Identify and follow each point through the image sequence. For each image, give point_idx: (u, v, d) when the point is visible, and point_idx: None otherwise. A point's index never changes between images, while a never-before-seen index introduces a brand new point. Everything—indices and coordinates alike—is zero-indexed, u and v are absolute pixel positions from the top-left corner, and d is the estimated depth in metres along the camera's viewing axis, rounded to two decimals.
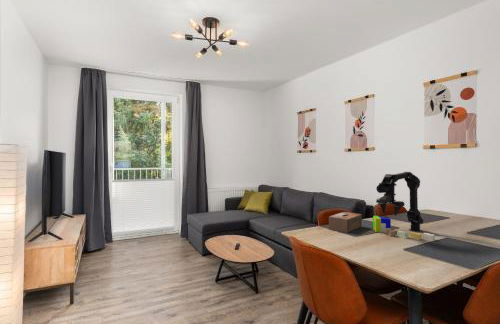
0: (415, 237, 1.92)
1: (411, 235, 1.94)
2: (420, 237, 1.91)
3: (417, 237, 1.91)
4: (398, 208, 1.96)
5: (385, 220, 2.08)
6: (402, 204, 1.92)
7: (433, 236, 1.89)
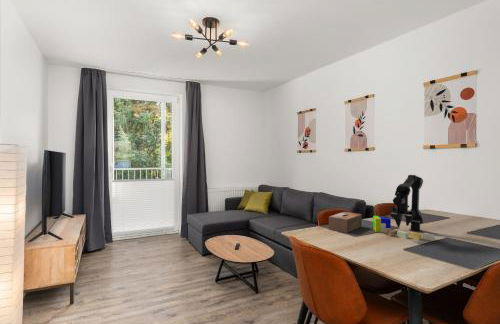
0: (415, 237, 1.92)
1: (411, 235, 1.94)
2: (420, 237, 1.91)
3: (417, 237, 1.91)
4: (398, 220, 1.93)
5: (385, 220, 2.08)
6: (394, 215, 1.92)
7: (433, 236, 1.89)
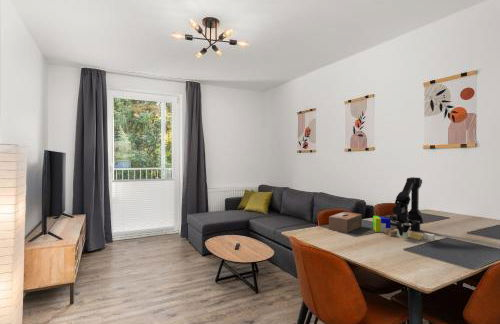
0: (415, 237, 1.92)
1: (411, 235, 1.94)
2: (420, 237, 1.91)
3: (417, 237, 1.91)
4: (401, 228, 1.94)
5: (385, 220, 2.08)
6: (394, 224, 1.92)
7: (433, 236, 1.89)
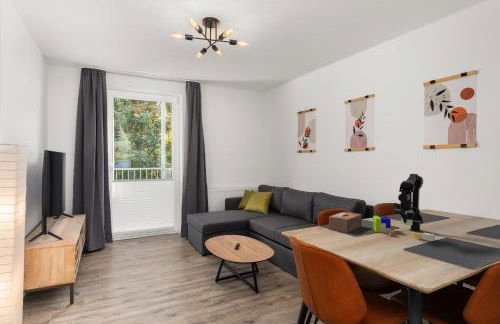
0: (415, 237, 1.92)
1: (411, 235, 1.94)
2: (420, 237, 1.91)
3: (417, 237, 1.91)
4: (405, 216, 1.93)
5: (385, 220, 2.08)
6: (398, 212, 1.91)
7: (433, 236, 1.89)
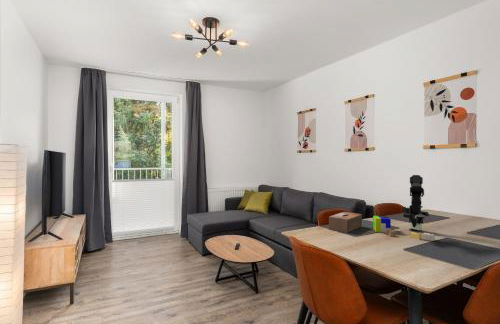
0: (415, 237, 1.92)
1: (411, 235, 1.94)
2: (420, 237, 1.91)
3: (418, 237, 1.91)
4: (414, 220, 1.91)
5: (385, 220, 2.08)
6: (407, 216, 1.89)
7: (433, 236, 1.89)
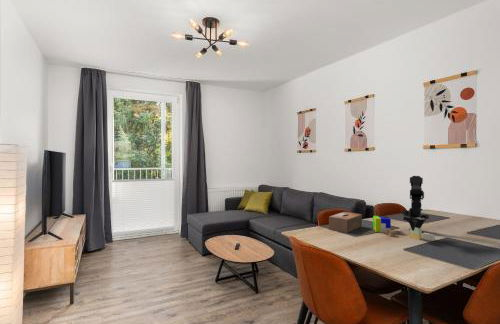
0: (415, 237, 1.92)
1: (411, 235, 1.94)
2: (420, 237, 1.91)
3: (418, 237, 1.91)
4: (413, 223, 1.90)
5: (385, 220, 2.08)
6: (407, 219, 1.89)
7: (433, 236, 1.89)
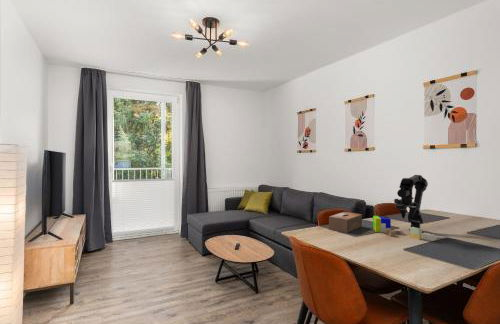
0: (416, 237, 1.92)
1: (411, 235, 1.94)
2: (420, 237, 1.91)
3: (418, 237, 1.91)
4: (403, 211, 2.00)
5: (385, 220, 2.08)
6: (399, 207, 1.98)
7: (433, 236, 1.89)
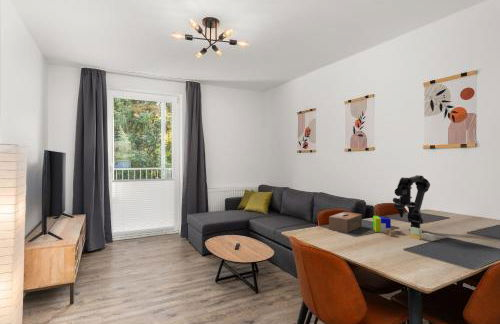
0: (416, 237, 1.92)
1: (411, 235, 1.94)
2: (420, 237, 1.91)
3: (418, 237, 1.91)
4: (401, 210, 2.02)
5: (385, 220, 2.08)
6: (397, 206, 2.01)
7: (433, 236, 1.89)
